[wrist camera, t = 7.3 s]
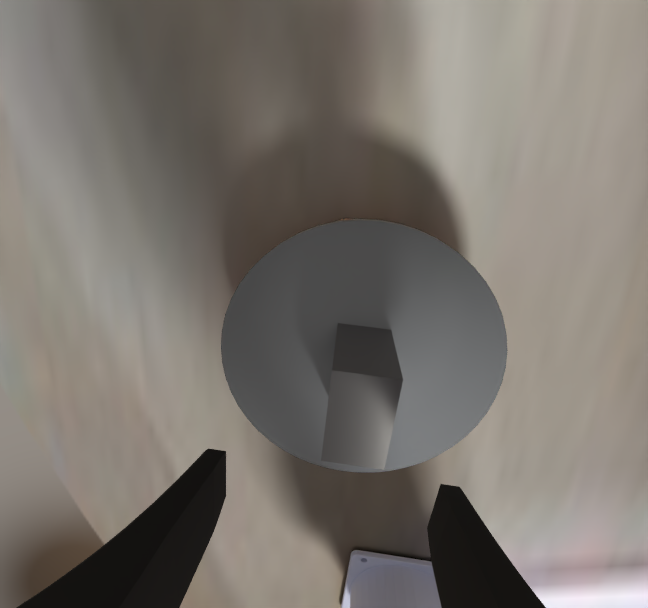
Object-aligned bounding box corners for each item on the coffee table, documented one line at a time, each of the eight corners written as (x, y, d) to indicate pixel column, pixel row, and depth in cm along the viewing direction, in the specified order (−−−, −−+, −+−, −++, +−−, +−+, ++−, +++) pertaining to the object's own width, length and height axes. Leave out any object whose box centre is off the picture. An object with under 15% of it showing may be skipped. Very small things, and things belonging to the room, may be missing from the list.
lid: (538, 237, 14) (627, 264, 9) (461, 476, 18) (495, 571, 14) (225, 203, 14) (167, 213, 10) (227, 442, 19) (188, 523, 15)
